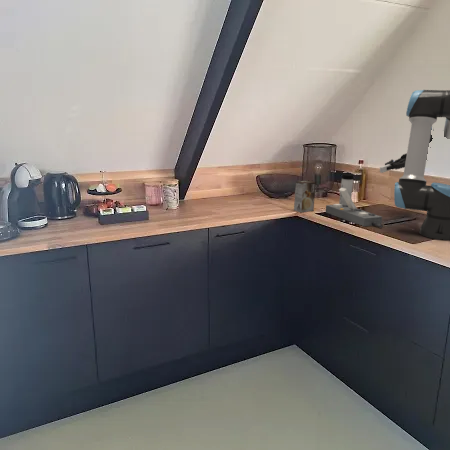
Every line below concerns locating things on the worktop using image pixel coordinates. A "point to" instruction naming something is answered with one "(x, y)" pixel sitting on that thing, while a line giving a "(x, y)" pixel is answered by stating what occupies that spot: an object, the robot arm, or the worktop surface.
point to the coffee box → (304, 196)
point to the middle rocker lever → (347, 199)
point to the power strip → (354, 215)
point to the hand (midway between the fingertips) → (381, 170)
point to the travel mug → (346, 185)
